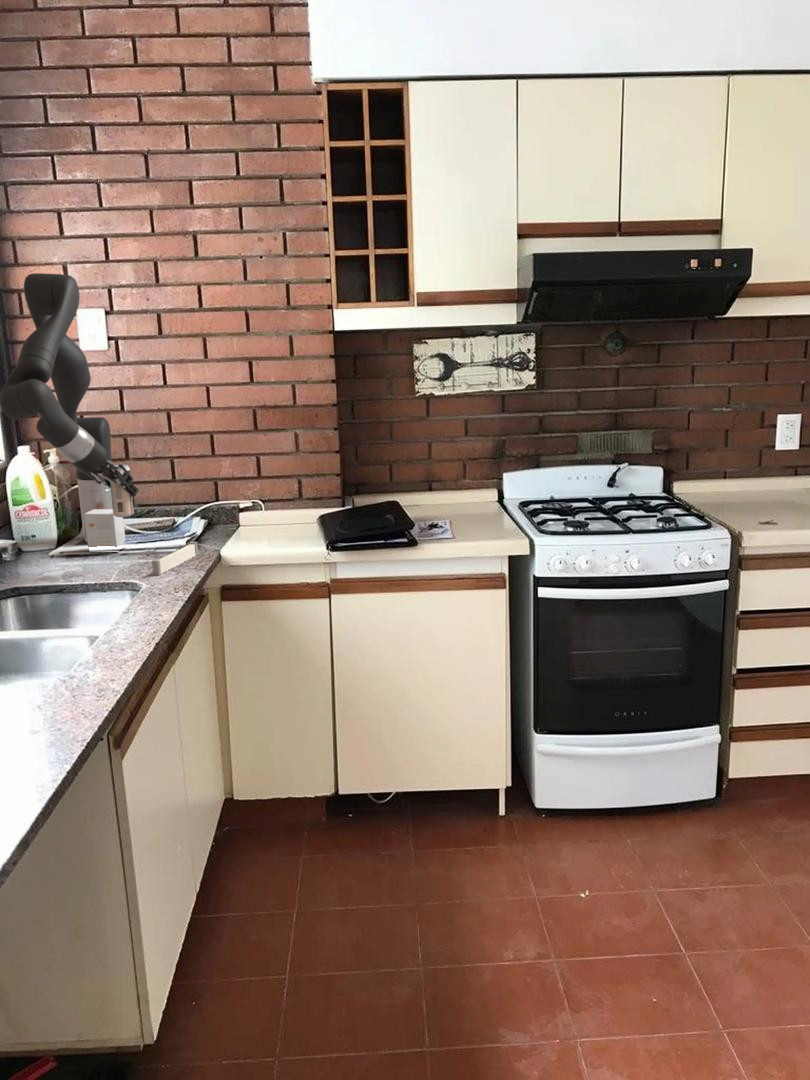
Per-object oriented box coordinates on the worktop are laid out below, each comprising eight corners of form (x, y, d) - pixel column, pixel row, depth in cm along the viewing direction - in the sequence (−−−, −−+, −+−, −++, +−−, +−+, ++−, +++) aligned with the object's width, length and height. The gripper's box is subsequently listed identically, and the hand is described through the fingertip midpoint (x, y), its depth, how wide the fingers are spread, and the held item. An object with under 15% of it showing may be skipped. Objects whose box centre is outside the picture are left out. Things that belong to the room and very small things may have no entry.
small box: (126, 547, 223) (122, 508, 221) (117, 553, 218) (113, 513, 215) (97, 547, 224) (93, 508, 222) (87, 553, 219) (83, 513, 216)
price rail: (159, 575, 198) (157, 561, 197) (153, 574, 198) (151, 560, 197) (198, 555, 215) (197, 542, 214) (192, 554, 215) (191, 541, 215)
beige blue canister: (138, 515, 203) (133, 465, 200) (120, 518, 199) (115, 468, 196) (127, 512, 206) (122, 463, 203) (109, 516, 202) (104, 466, 199)
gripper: (109, 436, 188) (156, 482, 200) (68, 433, 195) (116, 477, 208) (91, 463, 185) (140, 508, 197) (50, 459, 192) (100, 502, 205)
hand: (128, 492), depth 203 cm, fingers closed on beige blue canister, 4 cm apart
